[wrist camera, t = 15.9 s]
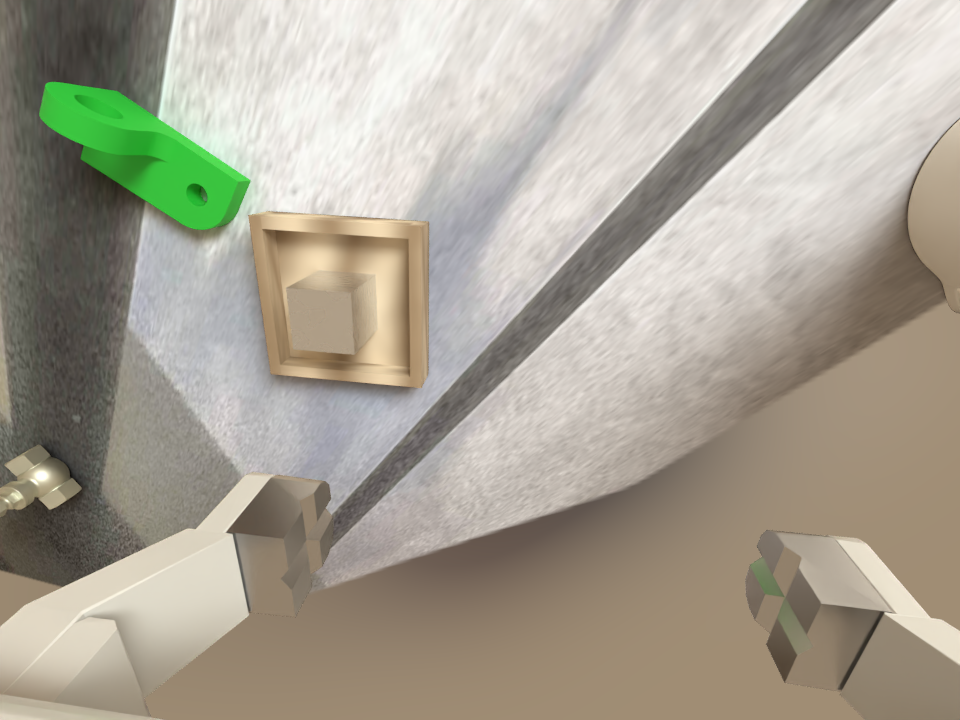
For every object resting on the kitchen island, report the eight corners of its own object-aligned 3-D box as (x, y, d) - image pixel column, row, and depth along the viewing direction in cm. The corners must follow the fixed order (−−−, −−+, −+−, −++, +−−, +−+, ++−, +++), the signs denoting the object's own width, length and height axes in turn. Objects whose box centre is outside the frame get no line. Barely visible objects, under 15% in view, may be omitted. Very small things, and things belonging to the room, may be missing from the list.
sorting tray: (429, 221, 40) (421, 226, 37) (428, 373, 45) (421, 388, 42) (267, 211, 41) (248, 215, 38) (286, 361, 46) (270, 374, 44)
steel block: (375, 274, 41) (350, 292, 35) (377, 329, 43) (354, 354, 37) (319, 270, 41) (286, 287, 36) (324, 324, 43) (293, 349, 38)
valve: (58, 433, 53) (-66, 505, 42) (100, 478, 55) (-8, 558, 44) (22, 453, 55) (-106, 527, 44) (64, 496, 57) (-49, 577, 46)
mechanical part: (100, 158, 41) (5, 159, 34) (119, 91, 39) (21, 76, 31) (227, 240, 42) (162, 257, 35) (251, 180, 40) (188, 185, 33)
